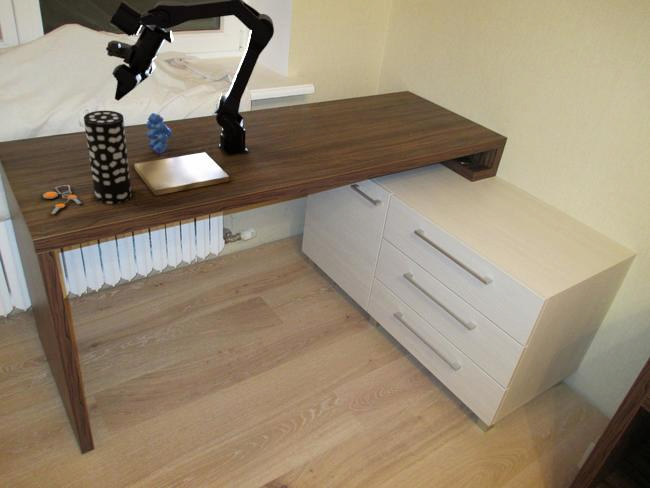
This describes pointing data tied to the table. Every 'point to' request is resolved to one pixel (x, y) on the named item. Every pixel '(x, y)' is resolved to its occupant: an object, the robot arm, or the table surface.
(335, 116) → the table surface
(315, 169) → the table surface
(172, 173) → the board
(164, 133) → the grapes
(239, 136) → the robot arm
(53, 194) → the key chain
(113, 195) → the spotted tube
